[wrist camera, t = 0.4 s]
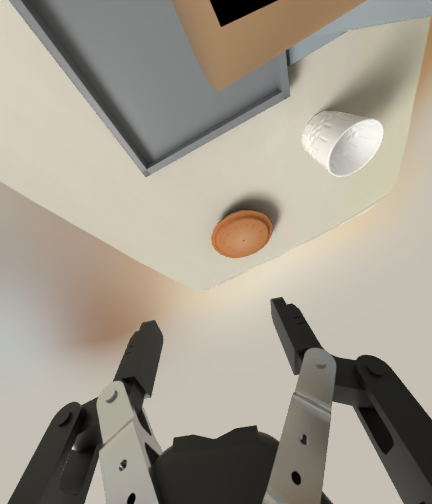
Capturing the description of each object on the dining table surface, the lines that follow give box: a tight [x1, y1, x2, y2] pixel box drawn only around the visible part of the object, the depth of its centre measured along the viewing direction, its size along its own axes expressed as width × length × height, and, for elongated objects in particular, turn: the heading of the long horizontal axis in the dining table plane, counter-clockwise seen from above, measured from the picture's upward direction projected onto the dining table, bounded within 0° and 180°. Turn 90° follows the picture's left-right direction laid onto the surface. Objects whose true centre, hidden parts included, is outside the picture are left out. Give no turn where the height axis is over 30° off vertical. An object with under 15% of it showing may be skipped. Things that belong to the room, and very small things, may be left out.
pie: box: [211, 210, 273, 258], centre depth 47 cm, size 16×16×5 cm
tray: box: [9, 0, 290, 177], centre depth 23 cm, size 26×22×3 cm
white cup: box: [302, 111, 384, 177], centre depth 31 cm, size 8×8×10 cm
